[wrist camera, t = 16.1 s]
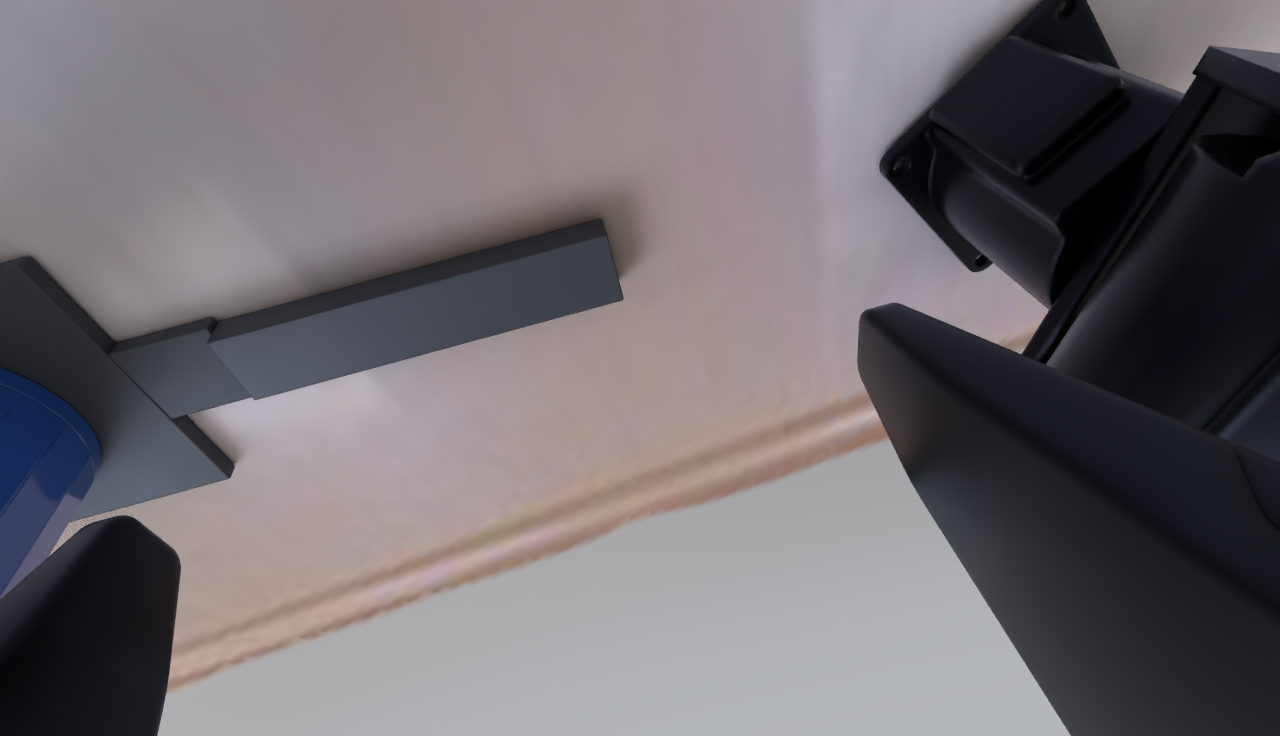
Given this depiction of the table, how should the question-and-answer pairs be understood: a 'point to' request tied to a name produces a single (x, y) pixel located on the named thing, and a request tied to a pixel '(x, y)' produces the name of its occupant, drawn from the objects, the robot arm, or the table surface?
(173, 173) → the table surface
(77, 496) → the cup
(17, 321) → the spatula
